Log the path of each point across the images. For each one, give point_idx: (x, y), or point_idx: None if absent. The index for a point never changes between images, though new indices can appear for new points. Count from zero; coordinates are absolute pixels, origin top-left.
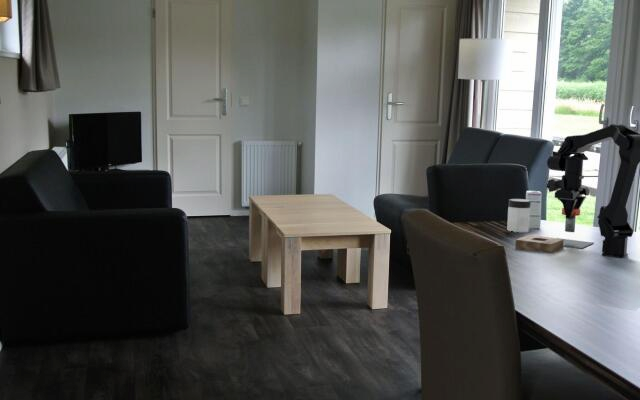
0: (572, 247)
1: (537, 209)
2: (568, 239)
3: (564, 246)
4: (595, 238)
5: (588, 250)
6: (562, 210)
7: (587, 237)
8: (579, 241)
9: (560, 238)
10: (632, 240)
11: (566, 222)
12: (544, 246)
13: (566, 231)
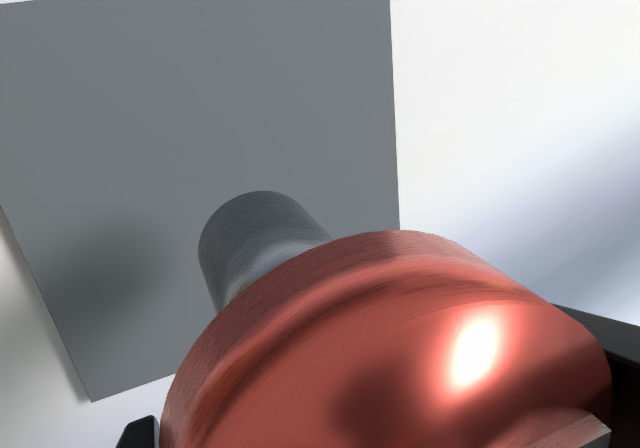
0: (61, 329)
1: None
2: (392, 94)
3: (29, 261)
4: (600, 173)
5: (92, 445)
6: (230, 397)
7: (610, 115)
8: (369, 211)
9: (388, 8)
10: (636, 322)
11: (230, 293)
12: None
13: (199, 241)
